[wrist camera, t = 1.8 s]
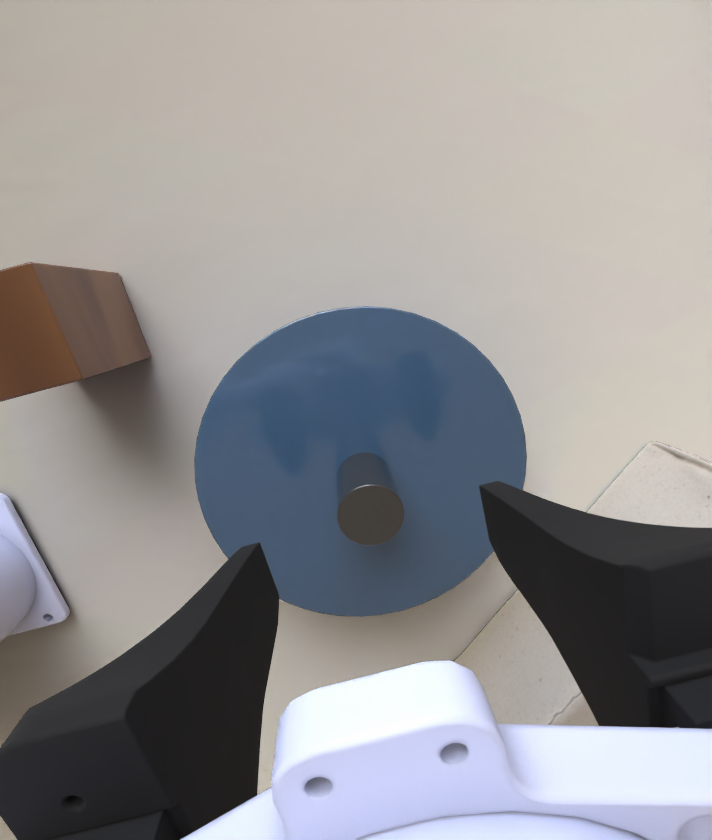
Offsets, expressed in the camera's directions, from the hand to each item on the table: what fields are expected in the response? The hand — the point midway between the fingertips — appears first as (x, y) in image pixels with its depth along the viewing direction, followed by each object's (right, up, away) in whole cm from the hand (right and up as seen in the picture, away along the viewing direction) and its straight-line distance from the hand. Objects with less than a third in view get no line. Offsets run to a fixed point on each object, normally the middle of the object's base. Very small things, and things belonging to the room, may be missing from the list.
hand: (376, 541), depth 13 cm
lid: (0, +1, +5) cm, 5 cm away
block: (-13, +8, +7) cm, 17 cm away
